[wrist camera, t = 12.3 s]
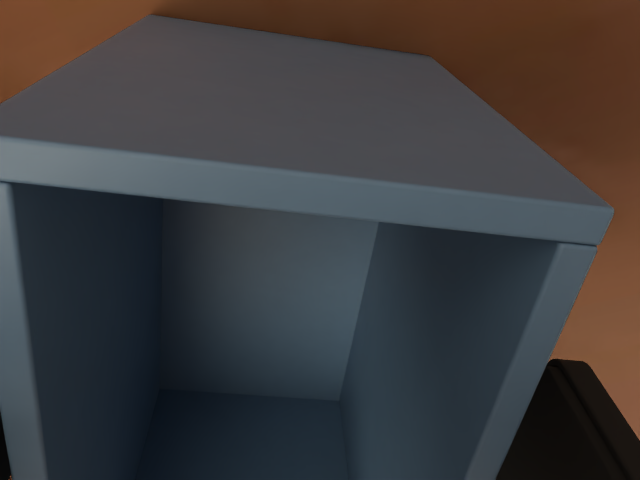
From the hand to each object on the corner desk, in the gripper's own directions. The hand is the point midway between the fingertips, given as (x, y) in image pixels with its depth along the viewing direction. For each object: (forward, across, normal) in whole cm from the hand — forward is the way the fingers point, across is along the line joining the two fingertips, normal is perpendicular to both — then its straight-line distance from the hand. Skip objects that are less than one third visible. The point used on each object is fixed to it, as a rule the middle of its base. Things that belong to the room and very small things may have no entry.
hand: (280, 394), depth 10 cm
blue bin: (+7, 0, +1) cm, 7 cm away
